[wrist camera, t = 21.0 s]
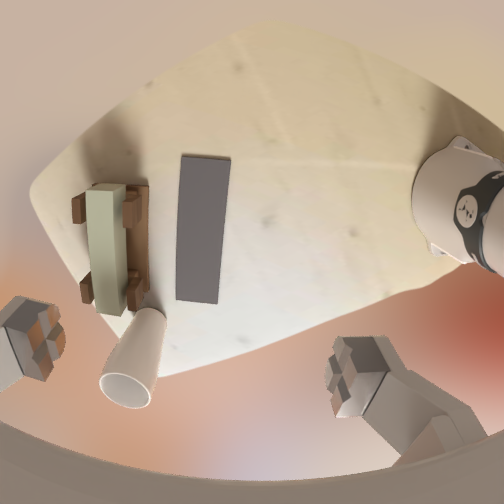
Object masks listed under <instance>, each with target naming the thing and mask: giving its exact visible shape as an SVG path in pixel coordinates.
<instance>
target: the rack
mask: <svg viewBox="0 0 504 504" xmlns="http://www.w3.org/2000/svg"><path fill="white" fill-rule="evenodd" d="M97 184H99V183H94V184H92V187H93V186H95V185H97ZM148 205H149V186H140V185H126V199H125V200H124V201H122V224H123V228H126V253H127V272H128V288H127V289H126V296H127V307H128V310H129V311H136V312H137V310H138V308H139V306H140V304H141V302H142V300H143V298H144V294H143V292H148V291H149V265H148ZM72 218H73V223H74V224H82V223H83V222H85V221H86V220H87V219H86V192H84V193H82V194H80V195H78V196H76V197H74V198H72ZM79 284H80V290H81V296H82V302H83V303H86V304H91V303H92V301H93V300H94V292H93V284H92V276H91V271H90V272H89V273H88V274H87V275H86V276H85V277H84V279H83V280H82V281H81V282H80V283H79Z"/></svg>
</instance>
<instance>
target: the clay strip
mask: <svg viewBox="0 0 504 504" xmlns="http://www.w3.org/2000/svg"><path fill="white" fill-rule="evenodd" d="M125 199H126V184H110V183H99V184H97V185H95V186H93V187H91V188H89V189H87V190H86V219H87V235H88V248H89V258H90V268H91V276H92V284H93V292H94V299H95V305H96V311H97V313H102V314H108V315H114V316H120V317H121V315H122V313H123V311H124V310H125V308H126V306H127V296H126V289H127V288H128V272H127V253H126V228H123V224H122V201H124V200H125Z"/></svg>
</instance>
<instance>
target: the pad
mask: <svg viewBox="0 0 504 504" xmlns="http://www.w3.org/2000/svg"><path fill="white" fill-rule="evenodd" d="M230 165H231V161H229V160H219V159H207V158H194V157H182V160H181V173H180V187H179V204H178V225H177V255H176V300H181V301H190V302H200V303H209V304H217V303H218V291H219V279H220V267H221V255H222V244H223V234H224V223H225V213H226V203H227V193H228V184H229V174H230Z"/></svg>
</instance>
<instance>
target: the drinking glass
mask: <svg viewBox="0 0 504 504" xmlns="http://www.w3.org/2000/svg"><path fill="white" fill-rule="evenodd" d="M166 330H167V321H166V318H165V317H164V315H163V314H162V313H161V312H159V311H158V310H156V309H153V308H142V309H140V310H139V311H137V312H136V314H135V315H134V317H133V320H132V321H131V323H130V324H129V326H128V327H127V329H126V331H125V332H124V334H123V335H122V337H121V338H120V340H119V341H118V343H117V344H116V346H115V348H114V349H113V351H112V352H111V354H110V356H109V358H108V359H107V362H106V364H105V366H104V368H103V371H102V373H101V376H100V379H99V386H100V388H101V390H102V392H103V393H104V394H105V395H106V396H107V397H108V398H109V399H110V400H112V401H113V402H115V403H116V404H119V405H121V406H124V407H127V408H142V407H145V406H147V405H148V404H149V403H150V401H151V398H152V395H153V392H154V389H155V385H156V381H157V377H158V372H159V366H160V359H161V353H162V348H163V342H164V337H165V333H166Z"/></svg>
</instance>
